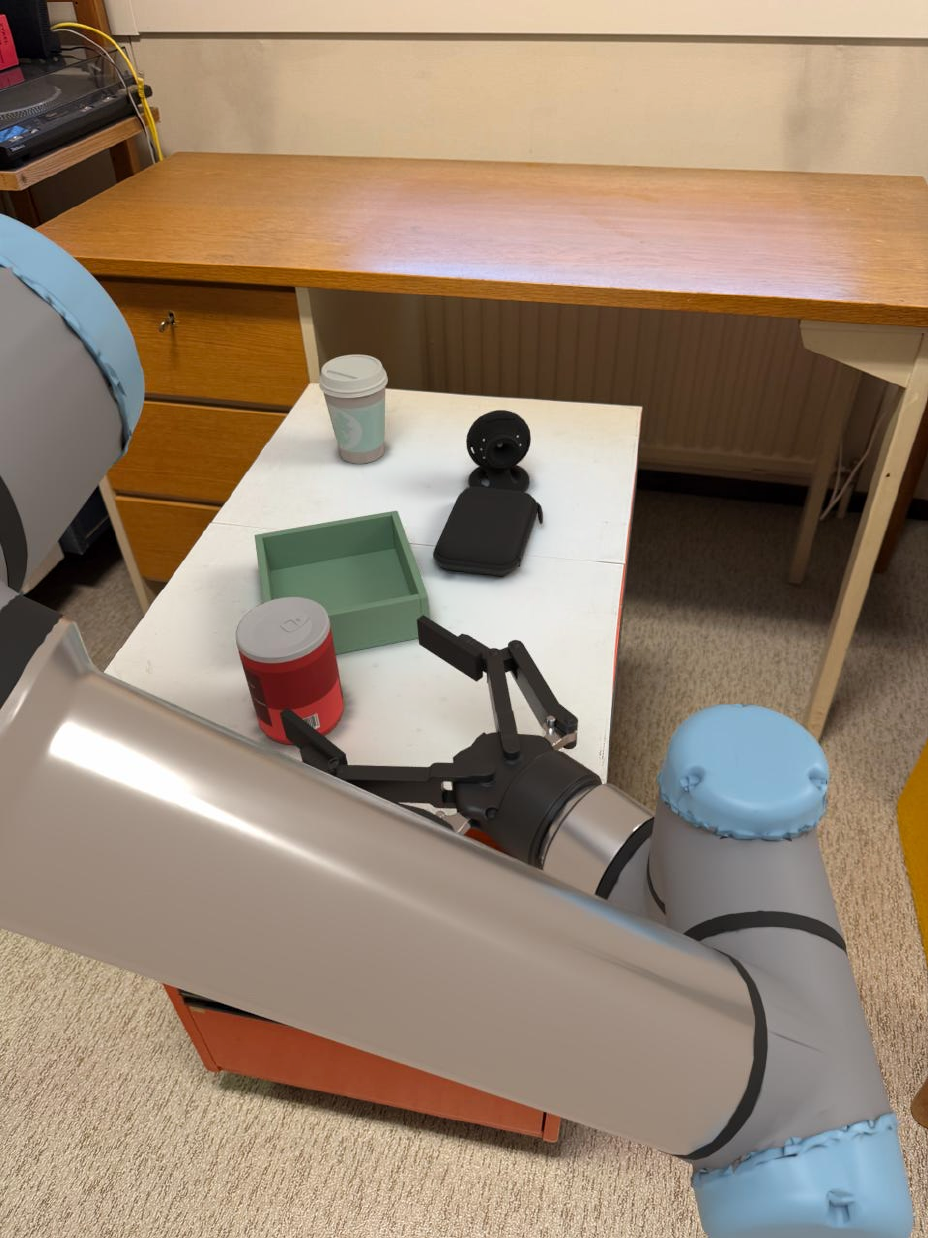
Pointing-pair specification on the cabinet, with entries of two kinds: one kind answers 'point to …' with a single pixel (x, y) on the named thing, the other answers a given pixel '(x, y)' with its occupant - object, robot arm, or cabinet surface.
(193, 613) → the cabinet surface
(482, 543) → the carrying case
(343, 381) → the coffee cup
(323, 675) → the canned food
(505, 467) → the webcam
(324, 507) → the cabinet surface
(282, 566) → the tote
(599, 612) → the cabinet surface
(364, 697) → the cabinet surface
